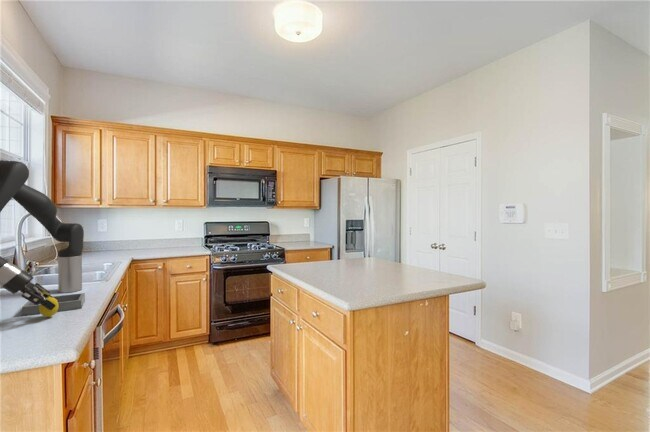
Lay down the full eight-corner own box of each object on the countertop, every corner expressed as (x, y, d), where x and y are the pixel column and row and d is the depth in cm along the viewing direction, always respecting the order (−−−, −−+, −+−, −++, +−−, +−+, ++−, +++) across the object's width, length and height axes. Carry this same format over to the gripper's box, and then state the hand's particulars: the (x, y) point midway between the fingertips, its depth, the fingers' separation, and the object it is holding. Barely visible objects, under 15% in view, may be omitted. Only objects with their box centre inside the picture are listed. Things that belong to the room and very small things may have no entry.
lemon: (46, 315, 123) (46, 294, 123) (62, 314, 124) (62, 294, 123) (35, 320, 118) (34, 298, 117) (51, 320, 118) (51, 298, 118)
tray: (31, 306, 133) (30, 298, 133) (85, 300, 142) (84, 292, 142) (22, 316, 122) (22, 307, 122) (81, 308, 131) (81, 300, 131)
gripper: (15, 273, 110) (60, 302, 117) (26, 266, 122) (67, 293, 129) (-6, 290, 107) (41, 319, 114) (8, 281, 120) (50, 308, 126)
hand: (55, 305), depth 121 cm, fingers closed on lemon, 5 cm apart
